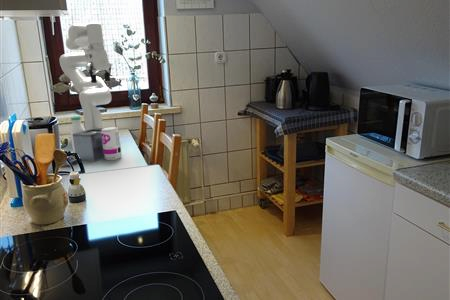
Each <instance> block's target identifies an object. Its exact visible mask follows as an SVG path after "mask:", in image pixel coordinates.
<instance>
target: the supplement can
mask: <svg viewBox="0 0 450 300" xmlns="http://www.w3.org/2000/svg"><path fill="white" fill-rule="evenodd" d="M119 132H120V131H119V129H118V127H116V126H110V127H107V126H106V127H103V129H102V131H101V137H102V144H103V151H104V158H103V159H105V160H106V161H113V160H114V161H115V160H119V159H120V158H121V157H122V156H123V155H122V149H121V148H122V147H121V141H120V133H119Z"/></svg>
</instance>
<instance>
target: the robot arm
mask: <svg viewBox="0 0 450 300" xmlns="http://www.w3.org/2000/svg"><path fill="white" fill-rule="evenodd" d="M67 36H68V37H67V38H66V41H65V46H66V48H67V49H68V50H70V51H74V52H67V53H64V54H61V55H60V57H59V65H60V67H61V70H62V72H63V73H64V74H65V76H66V77H68V79H70V81H71V83H72V85H73V86H74V88H75V90H76V91H77V92H78V98H79V102H80V105H81V110H82V114H83V121H84V128H85V131H86V130H89V129H93V128H104V126H103V119H102V113H101V111H100V110H99V109H98V108H97V106H101V105H107V104H110V103H111V102H112V93H111V91H110V89H109V88H108V86H107V84H106V83H105V82H111V75H110V74H111V70H112V63H110V61H109V56H108V54H107V51H106V50H107V49H105V44H104V35H103V27H102V23H100V22H97V21H95V22H94V21H93V22H87V23H81V22H80V23H72V24H71V25H70V26H69V27H68V31H67ZM84 67H85V69H86V72H87V73H88V75H90V76H86V74H85V73H84V72H83V71H82V70H81V69H79V68H84ZM97 71H103V72H104V73H103V75H104V80H103V79H102V77H100V76H97V74H96V72H97Z"/></svg>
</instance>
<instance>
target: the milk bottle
mask: <svg viewBox="0 0 450 300" xmlns="http://www.w3.org/2000/svg"><path fill="white" fill-rule="evenodd" d="M81 117H82V116H81V115H75V116H71V117H70V121H71V123H72V124H71V128H70V139H71V140H70V141H71V145H72V146H71V147H72V153H73V152H75V147H74V140H73V134H74V133H78V132H82V131H86V128H85V126H83V124H82V118H81Z"/></svg>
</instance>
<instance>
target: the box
mask: <svg viewBox="0 0 450 300" xmlns="http://www.w3.org/2000/svg"><path fill="white" fill-rule="evenodd" d="M103 128H104V127H103ZM103 128H93V129H89V130H86V129H85V131H82V132H78V133H74V134H73V140H74V147H75V153H77V154H78V155H79V157H80V159H81V160H80V161H88V162H96V161H99V160H101V159H105V158H104V151H103V144H102V137H101V131H102V129H103ZM91 131H98V132H96V133H87V132H91Z"/></svg>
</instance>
